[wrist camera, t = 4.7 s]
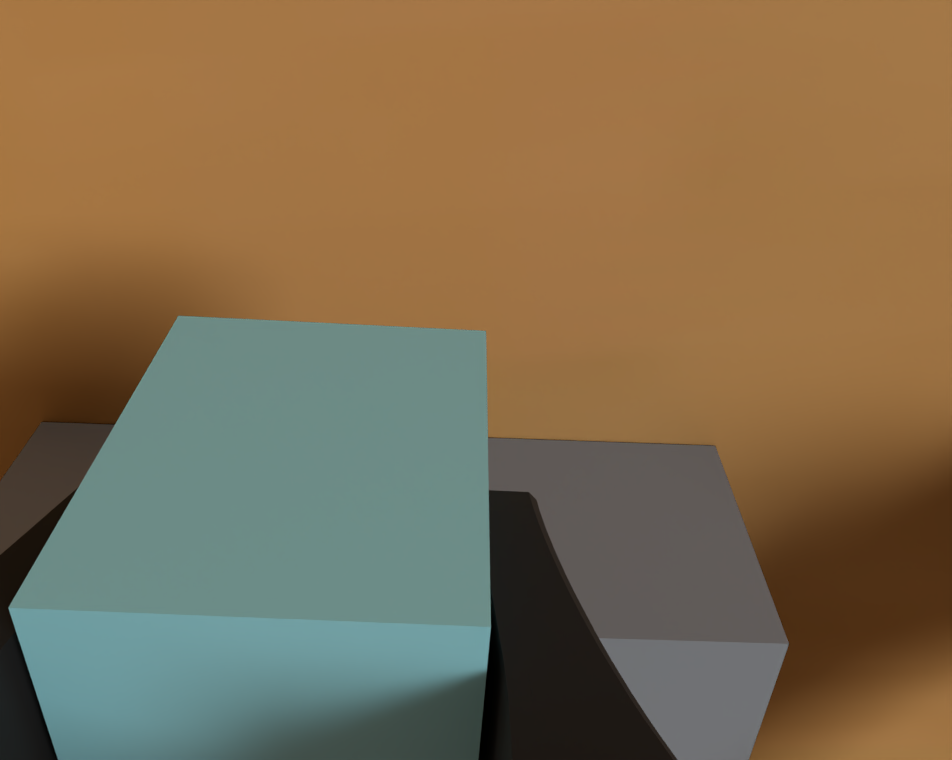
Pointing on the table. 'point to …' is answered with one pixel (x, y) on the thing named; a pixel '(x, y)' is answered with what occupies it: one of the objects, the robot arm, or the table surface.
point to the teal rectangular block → (275, 553)
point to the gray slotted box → (587, 567)
